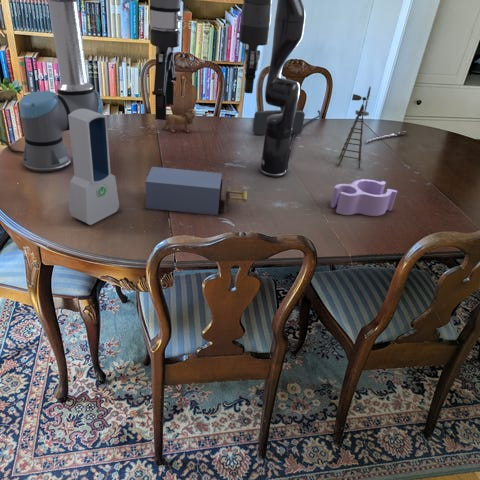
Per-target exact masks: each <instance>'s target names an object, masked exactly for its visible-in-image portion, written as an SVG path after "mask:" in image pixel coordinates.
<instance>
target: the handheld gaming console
mask: <svg viewBox="0 0 480 480" xmlns="http://www.w3.org/2000/svg"><path fill="white" fill-rule="evenodd" d="M283 110H284V109H281V110H273V109H272V110H257V111H255V113H254V116H253V124H252V132H253V134H254V135H259V136H265V129H266V121H267V118H268V117H269V116H271V115H275V114H281V113H283ZM305 115H306V114H305V112H304V111H303V110H297V109H296V113H295V118H294V122H293V127H292V134H291V135H294V133H295V132H296V135H297V134H301V133H302V132H303V128H304V127H303V125H304V122H305V121H304V120H305Z"/></svg>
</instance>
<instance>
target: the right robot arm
mask: <svg viewBox="0 0 480 480" xmlns="http://www.w3.org/2000/svg"><path fill="white" fill-rule="evenodd" d="M276 2H277V3H276V10H275V17H274V25H273V35H272V36H273V38H272V46H271V47H272V48H271V54H270V55H271V56H270V61H269V68H268V72H267V78H266V84H265V91H264V98H265V100H264V101H265V103H266V104H267V105H269V106H273V107H276V108H280V109H282V110H283V113H281V114H275V115H271V116H269V117H268V118H267V121H266V129H265V135H264V138H263V146H262V155H261V157H260V168H259V172H260V173H261V174H263V175H264V176H266V177H271V178H280V177H284V176H285V175H286V173H287V172H288V167H289V163H290V162H289V161H290V155H291V153H292V146H293V142H294V139H295V137H296V136H297V134H296V132H295V133H294V134H292V127H293V122H294V118H295V113H296V110H297V109H298V102H299V99H300V94H301V93H300V92H301V89H300V88H301V86H300V83H299V82H298V81H296V80H292V79H287V78H282V77H281V76H282V71H283V67H284V65H285V64H286V62H287V60H288V58H289V57H290V56H291V54H292V53H293V52H294V51H295V50H296V48H297V47H298V46H299V45H300V42H301V41H302V39H303V36H304V32H305V31H304V30H305V24H306V10H305V9H306V8H305V7H304V4H303V1H302V0H277V1H276ZM272 5H273V0H243V2H242V7H241V12H240V24H239V34H238V35H239V36H238V40H239V42H240V43H242V44H244V45H248V49H247V48H245V49H244V58H243V59H244V72H245V73H244V79H245V81H244V93H245V94H253V93H254V92H253V91H254V84H255V83H254V82H255V79H256V77H257V76H256V72H258V68H259V61H260V59H261V50H258V48H259V46H266V45H268V43H269V38H270V30H271V21H272ZM317 113H318V115H316V116H314V117H313V118H312V119H310V120H309V121H306V122H305V123H303V128H304V127H305V126H307V125H308V124H310V123H311V122H313V121H315V120H317V119H318V118H319V117H321V110H320V109H318V110H317Z"/></svg>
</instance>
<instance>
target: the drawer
mask: <svg viewBox="0 0 480 480" xmlns="http://www.w3.org/2000/svg"><path fill="white" fill-rule="evenodd" d="M231 186H232V177H227V178H226V186H225V196H224V197H225V199H224V208H223V209H224V210H223V212H224V213H229V207H230V200H232V201H242V202H243V203H246V202H247V201H248V191H247V190H242V191H238V190H231ZM222 192H223V178H222V179H221V186H220V195H219V208H218V209H219V210H220V209H221V201H222ZM231 194H234V195H241V197H236V196H230V195H231Z"/></svg>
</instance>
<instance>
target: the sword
mask: <svg viewBox="0 0 480 480" xmlns="http://www.w3.org/2000/svg"><path fill="white" fill-rule="evenodd" d="M404 134H406V133H402V134H400V132H393V133H390V134H387V135H381V136H378V137H374V138H370V139H368V140H366V141H365V144H368V143H370V142H374V141H378V140H381V139H386V138H390V137H394V136H395V137H398V136H399V135H404Z"/></svg>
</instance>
